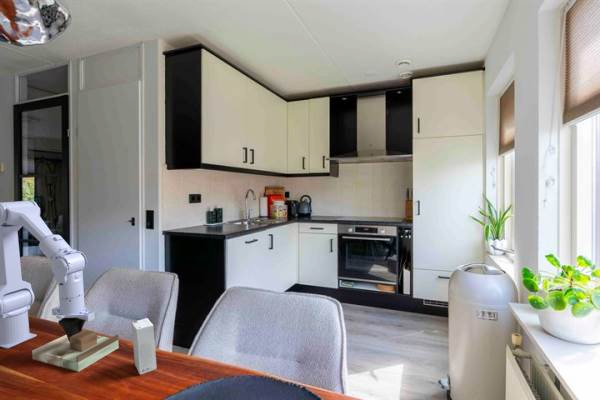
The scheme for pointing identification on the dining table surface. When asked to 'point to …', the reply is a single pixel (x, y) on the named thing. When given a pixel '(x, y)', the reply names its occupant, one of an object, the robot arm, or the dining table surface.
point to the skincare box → (144, 345)
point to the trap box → (74, 352)
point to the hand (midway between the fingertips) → (74, 341)
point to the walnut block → (83, 340)
